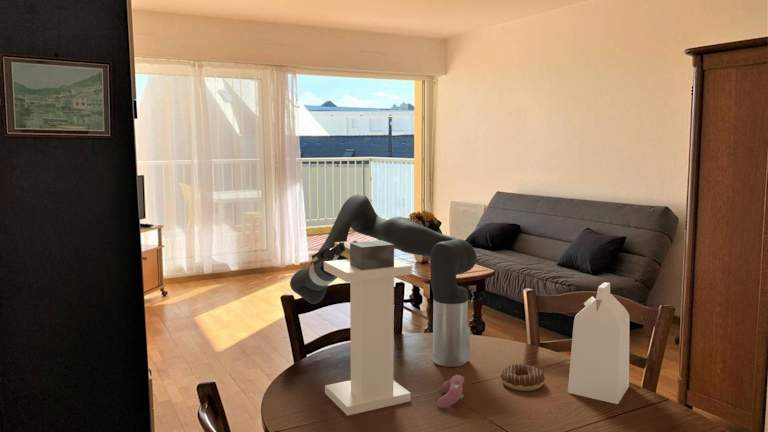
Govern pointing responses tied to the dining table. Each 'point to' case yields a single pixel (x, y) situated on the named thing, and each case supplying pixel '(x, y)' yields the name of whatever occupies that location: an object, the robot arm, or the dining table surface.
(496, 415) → the dining table surface
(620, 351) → the milk
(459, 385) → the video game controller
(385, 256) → the grey and beige blocks
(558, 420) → the dining table surface
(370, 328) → the stand
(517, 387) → the donut
